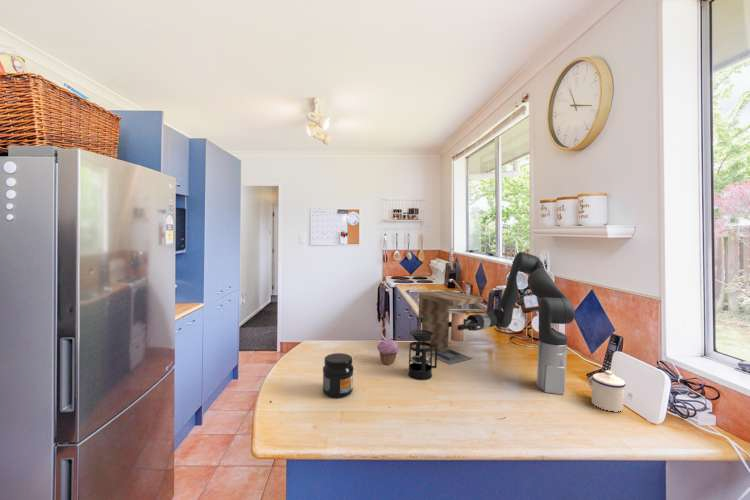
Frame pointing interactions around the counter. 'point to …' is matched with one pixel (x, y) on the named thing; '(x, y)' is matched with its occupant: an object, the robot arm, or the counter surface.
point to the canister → (457, 320)
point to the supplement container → (338, 375)
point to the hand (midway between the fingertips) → (453, 326)
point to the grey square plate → (450, 356)
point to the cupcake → (387, 351)
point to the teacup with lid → (607, 391)
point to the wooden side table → (440, 313)
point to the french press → (421, 362)
